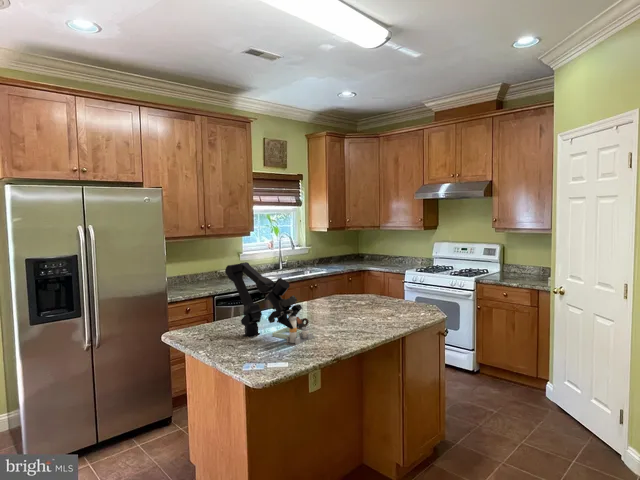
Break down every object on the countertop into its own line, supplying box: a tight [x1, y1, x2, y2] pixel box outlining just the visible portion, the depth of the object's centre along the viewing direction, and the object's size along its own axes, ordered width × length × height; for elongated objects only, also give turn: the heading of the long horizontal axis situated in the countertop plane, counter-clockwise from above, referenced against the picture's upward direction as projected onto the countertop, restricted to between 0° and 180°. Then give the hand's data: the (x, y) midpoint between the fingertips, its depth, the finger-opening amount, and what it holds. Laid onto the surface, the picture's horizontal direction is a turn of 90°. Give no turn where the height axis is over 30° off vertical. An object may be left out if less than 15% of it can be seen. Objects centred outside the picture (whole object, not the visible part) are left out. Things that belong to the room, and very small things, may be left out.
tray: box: [271, 327, 302, 340], centre depth 208 cm, size 11×11×3 cm
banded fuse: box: [288, 315, 298, 343], centre depth 195 cm, size 4×4×12 cm
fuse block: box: [283, 332, 316, 347], centre depth 199 cm, size 6×17×4 cm, turn 142°
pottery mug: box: [296, 316, 310, 330], centre depth 220 cm, size 12×10×8 cm
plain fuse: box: [302, 326, 310, 339], centre depth 202 cm, size 4×4×5 cm
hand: (295, 327), depth 194 cm, fingers closed on banded fuse, 3 cm apart
